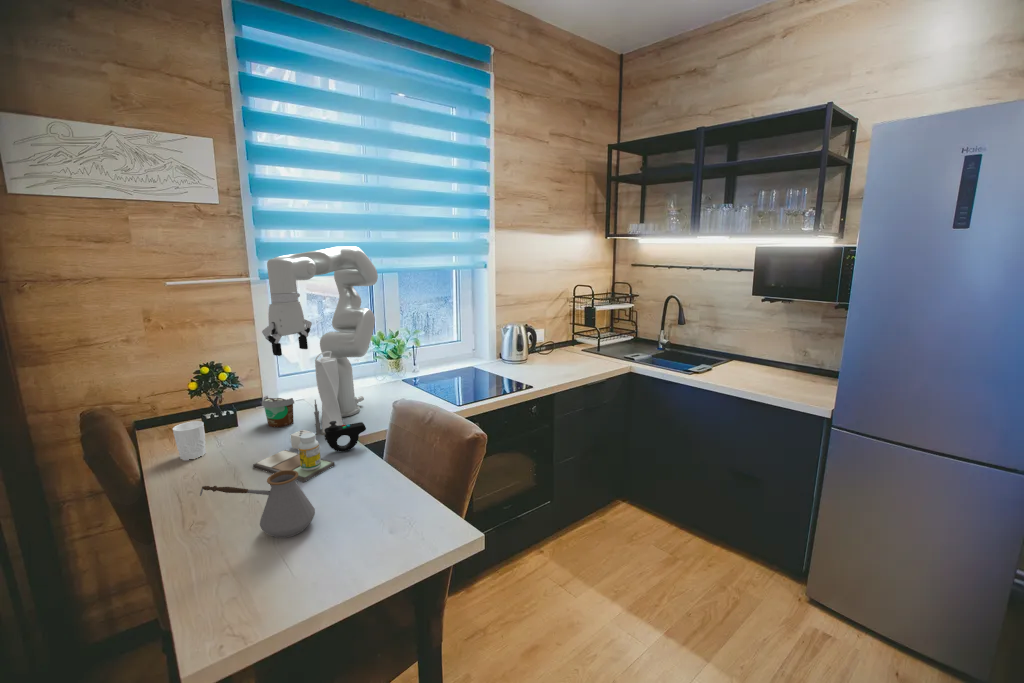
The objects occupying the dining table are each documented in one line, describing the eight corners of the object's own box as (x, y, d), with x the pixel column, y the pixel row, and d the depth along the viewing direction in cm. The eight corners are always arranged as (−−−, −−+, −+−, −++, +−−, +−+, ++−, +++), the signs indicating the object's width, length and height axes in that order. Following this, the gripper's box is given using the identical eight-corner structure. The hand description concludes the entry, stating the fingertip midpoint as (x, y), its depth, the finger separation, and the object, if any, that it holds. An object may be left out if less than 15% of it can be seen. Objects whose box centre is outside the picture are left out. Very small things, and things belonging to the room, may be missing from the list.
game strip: (285, 452, 148) (285, 449, 147) (334, 465, 138) (334, 461, 138) (253, 467, 138) (252, 463, 138) (303, 482, 129) (303, 478, 129)
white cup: (214, 450, 150) (209, 421, 148) (195, 462, 143) (190, 431, 140) (191, 450, 151) (186, 420, 149) (171, 461, 143) (166, 430, 141)
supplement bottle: (322, 468, 134) (319, 436, 132) (302, 472, 132) (298, 440, 130) (319, 460, 139) (316, 430, 137) (299, 465, 136) (296, 434, 134)
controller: (325, 451, 148) (322, 421, 146) (366, 443, 153) (363, 414, 151) (327, 456, 144) (324, 426, 142) (368, 448, 150) (366, 418, 148)
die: (303, 442, 155) (301, 429, 154) (313, 444, 153) (311, 431, 152) (291, 447, 151) (290, 434, 150) (301, 450, 149) (300, 436, 148)
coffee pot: (312, 508, 116) (305, 452, 113) (320, 532, 106) (313, 471, 103) (209, 537, 105) (199, 475, 102) (208, 567, 95) (197, 499, 92)
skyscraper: (325, 426, 170) (317, 350, 164) (347, 426, 169) (340, 350, 163) (315, 435, 161) (306, 356, 156) (338, 435, 161) (330, 356, 155)
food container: (256, 427, 169) (252, 400, 167) (269, 420, 175) (266, 395, 173) (284, 430, 166) (281, 403, 164) (297, 423, 171) (293, 397, 169)
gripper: (299, 295, 156) (305, 345, 159) (251, 301, 141) (258, 357, 144) (315, 295, 153) (321, 347, 156) (267, 302, 137) (275, 359, 141)
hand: (291, 352), depth 150 cm, fingers open, 9 cm apart
